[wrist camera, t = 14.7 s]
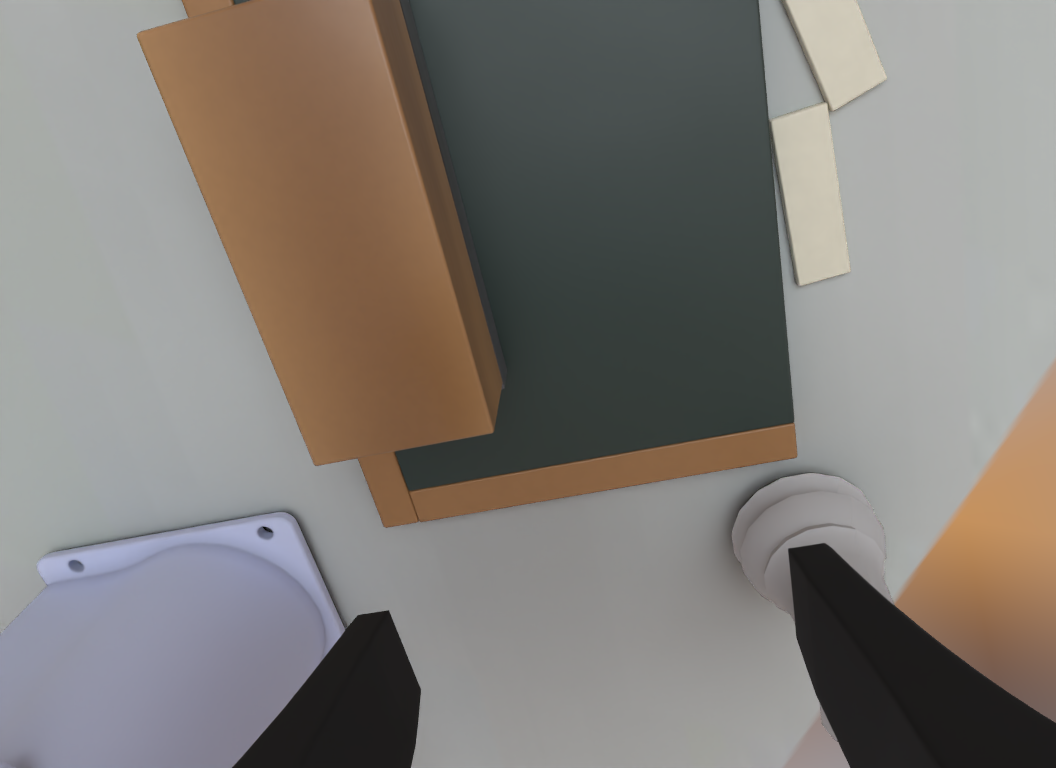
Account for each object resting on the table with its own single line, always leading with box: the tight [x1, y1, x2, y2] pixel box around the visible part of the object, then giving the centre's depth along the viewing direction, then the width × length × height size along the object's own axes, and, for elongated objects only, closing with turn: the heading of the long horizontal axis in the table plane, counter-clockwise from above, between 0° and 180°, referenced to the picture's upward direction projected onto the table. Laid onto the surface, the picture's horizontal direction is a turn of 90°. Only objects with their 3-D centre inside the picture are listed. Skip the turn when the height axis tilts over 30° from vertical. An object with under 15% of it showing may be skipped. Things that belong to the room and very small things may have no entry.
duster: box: [137, 0, 507, 466], centre depth 16 cm, size 4×10×4 cm, turn 13°
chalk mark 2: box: [769, 102, 851, 286], centre depth 18 cm, size 4×1×1 cm, turn 18°
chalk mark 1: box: [782, 0, 887, 111], centre depth 16 cm, size 4×1×1 cm, turn 33°
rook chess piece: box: [731, 473, 894, 742], centre depth 19 cm, size 4×4×8 cm
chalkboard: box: [182, 0, 797, 528], centre depth 18 cm, size 13×19×1 cm
